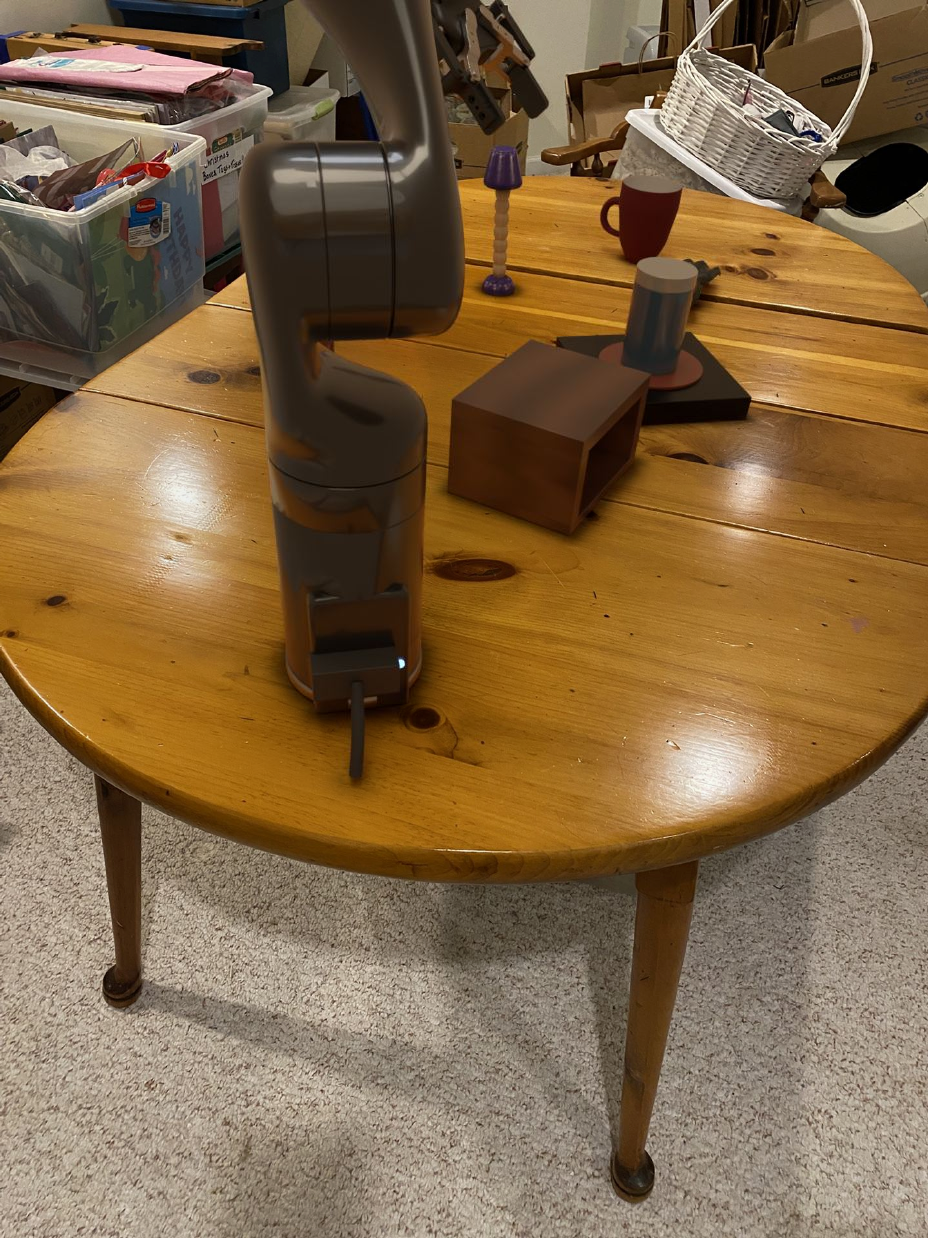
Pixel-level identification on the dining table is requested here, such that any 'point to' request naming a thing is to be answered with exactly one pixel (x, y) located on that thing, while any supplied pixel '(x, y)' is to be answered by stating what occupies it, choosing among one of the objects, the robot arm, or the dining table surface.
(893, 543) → the dining table surface
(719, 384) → the hot plate
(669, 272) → the jar
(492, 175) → the toy lamp
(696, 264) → the statue
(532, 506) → the shelf
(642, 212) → the mug
